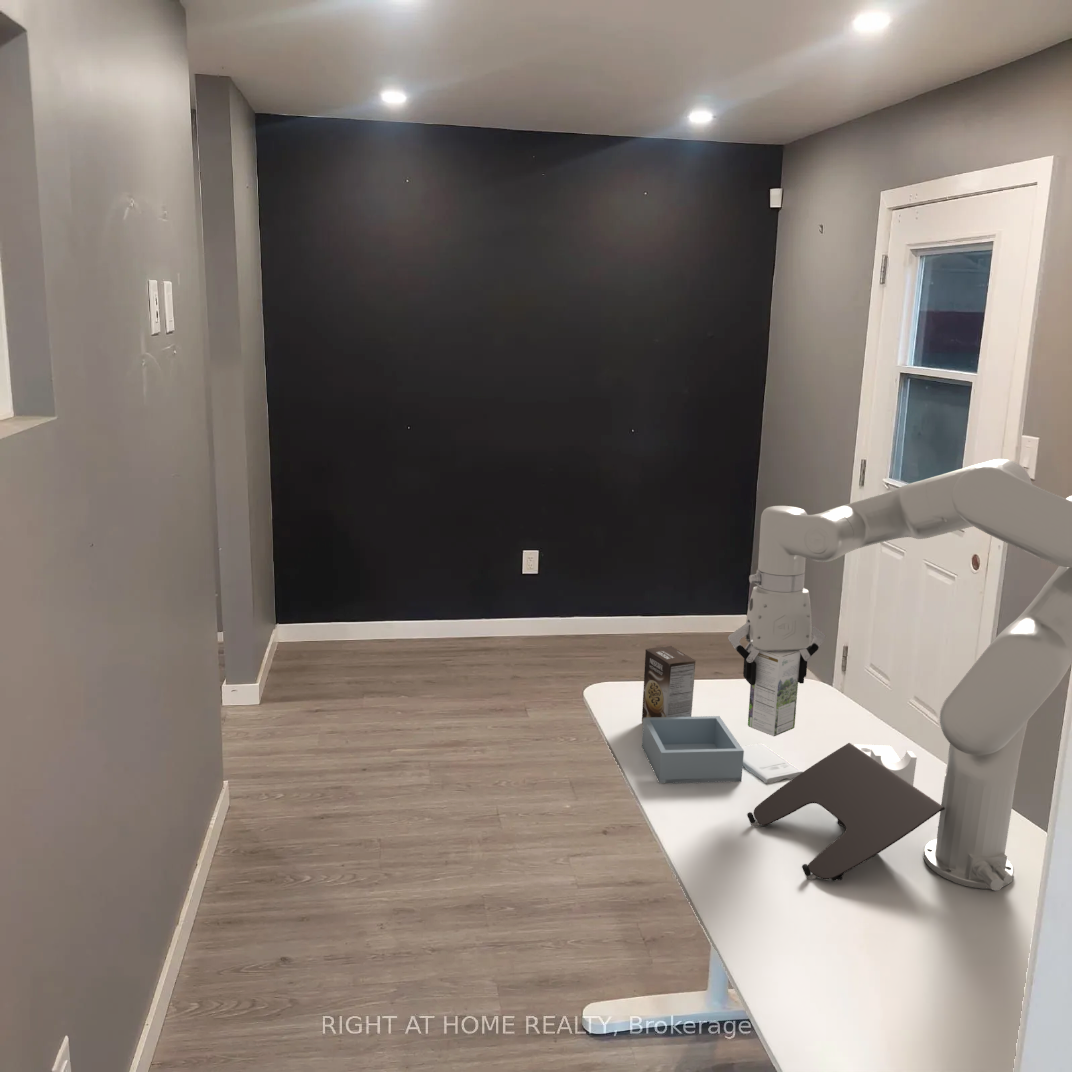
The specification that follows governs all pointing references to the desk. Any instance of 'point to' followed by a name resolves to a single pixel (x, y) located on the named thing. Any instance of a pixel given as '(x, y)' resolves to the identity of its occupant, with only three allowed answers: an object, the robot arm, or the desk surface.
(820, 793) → the portable electronic device stand
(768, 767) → the external hard drive
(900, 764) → the bracket
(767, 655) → the syrup box
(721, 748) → the bin
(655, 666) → the coffee box
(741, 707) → the desk surface
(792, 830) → the desk surface
